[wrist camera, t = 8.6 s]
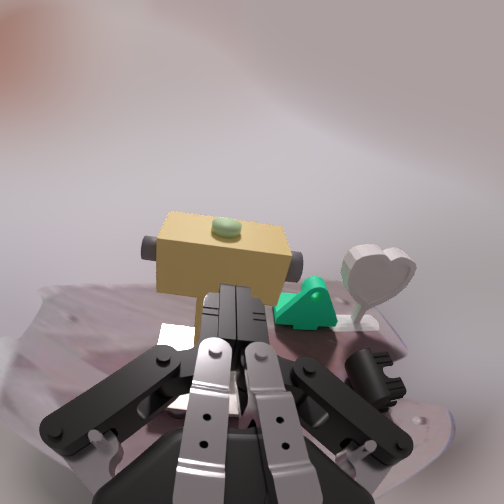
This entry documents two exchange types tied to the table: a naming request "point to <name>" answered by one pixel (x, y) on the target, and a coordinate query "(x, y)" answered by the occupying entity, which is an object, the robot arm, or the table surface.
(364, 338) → the table surface
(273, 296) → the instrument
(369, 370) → the end cap
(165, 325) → the grey metal base plate
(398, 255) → the heart sculpture
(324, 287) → the camera mount
